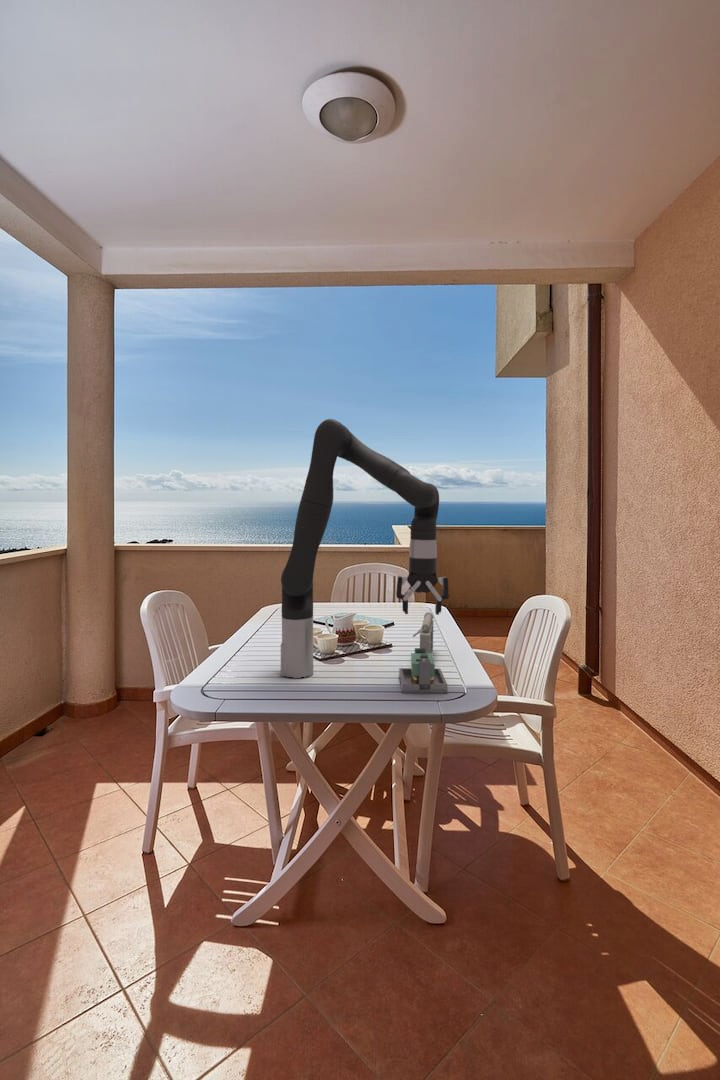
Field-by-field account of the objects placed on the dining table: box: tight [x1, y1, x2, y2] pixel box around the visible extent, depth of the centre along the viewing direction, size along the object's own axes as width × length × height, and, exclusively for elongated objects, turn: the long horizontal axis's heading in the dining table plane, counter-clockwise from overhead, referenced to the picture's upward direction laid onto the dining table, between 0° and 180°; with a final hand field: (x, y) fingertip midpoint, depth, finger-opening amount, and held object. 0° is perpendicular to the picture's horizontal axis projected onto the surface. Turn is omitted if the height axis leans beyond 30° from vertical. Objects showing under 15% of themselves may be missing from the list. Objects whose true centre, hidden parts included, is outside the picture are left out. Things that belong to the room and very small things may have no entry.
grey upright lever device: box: [412, 611, 436, 660], centre depth 166 cm, size 14×6×25 cm
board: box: [410, 652, 436, 677], centre depth 140 cm, size 6×10×4 cm, turn 176°
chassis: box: [398, 647, 448, 695], centre depth 140 cm, size 12×13×8 cm
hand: (421, 613), depth 139 cm, fingers open, 8 cm apart
